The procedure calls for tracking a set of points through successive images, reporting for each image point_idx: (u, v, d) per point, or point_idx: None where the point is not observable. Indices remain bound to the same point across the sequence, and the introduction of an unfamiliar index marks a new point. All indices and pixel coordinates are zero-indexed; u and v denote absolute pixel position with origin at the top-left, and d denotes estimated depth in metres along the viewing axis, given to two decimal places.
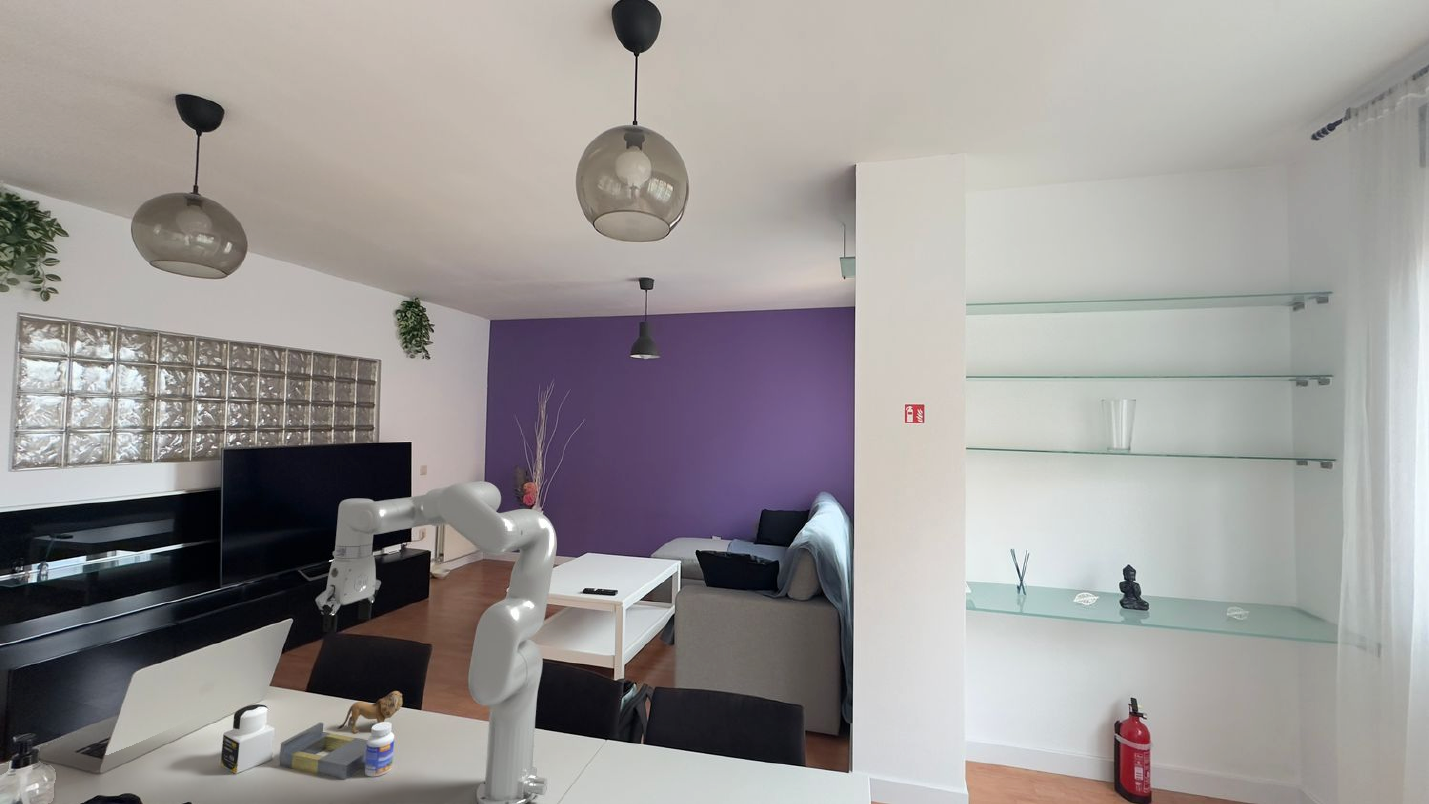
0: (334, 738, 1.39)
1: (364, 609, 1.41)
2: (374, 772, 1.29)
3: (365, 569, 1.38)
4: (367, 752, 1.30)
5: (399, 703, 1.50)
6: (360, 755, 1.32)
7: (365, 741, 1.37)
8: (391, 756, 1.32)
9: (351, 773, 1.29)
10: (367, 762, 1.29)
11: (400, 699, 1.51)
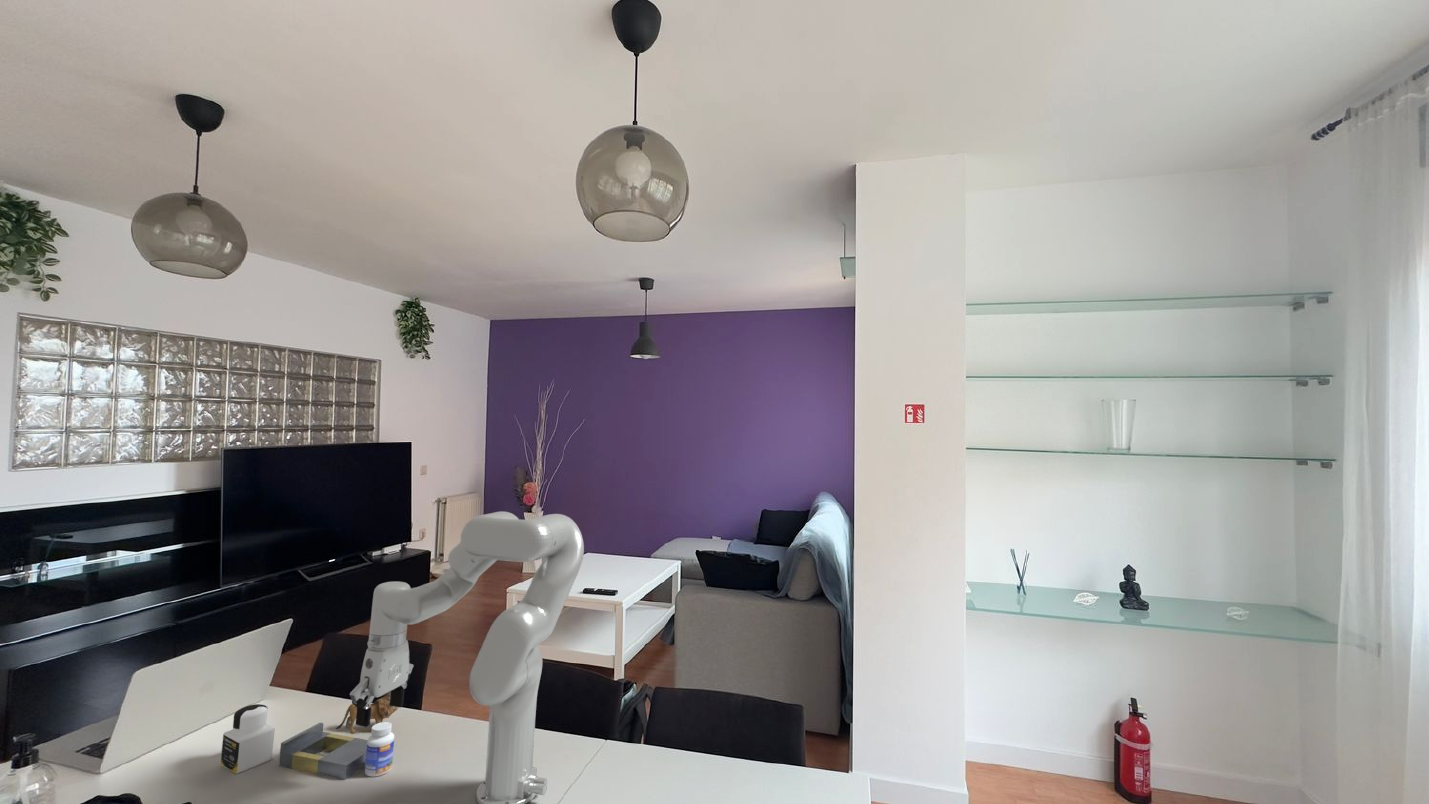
0: (334, 738, 1.39)
1: (396, 696, 1.37)
2: (374, 772, 1.29)
3: (399, 657, 1.33)
4: (367, 752, 1.30)
5: None
6: (360, 755, 1.32)
7: (365, 741, 1.37)
8: (391, 756, 1.32)
9: (351, 773, 1.29)
10: (367, 762, 1.29)
11: None
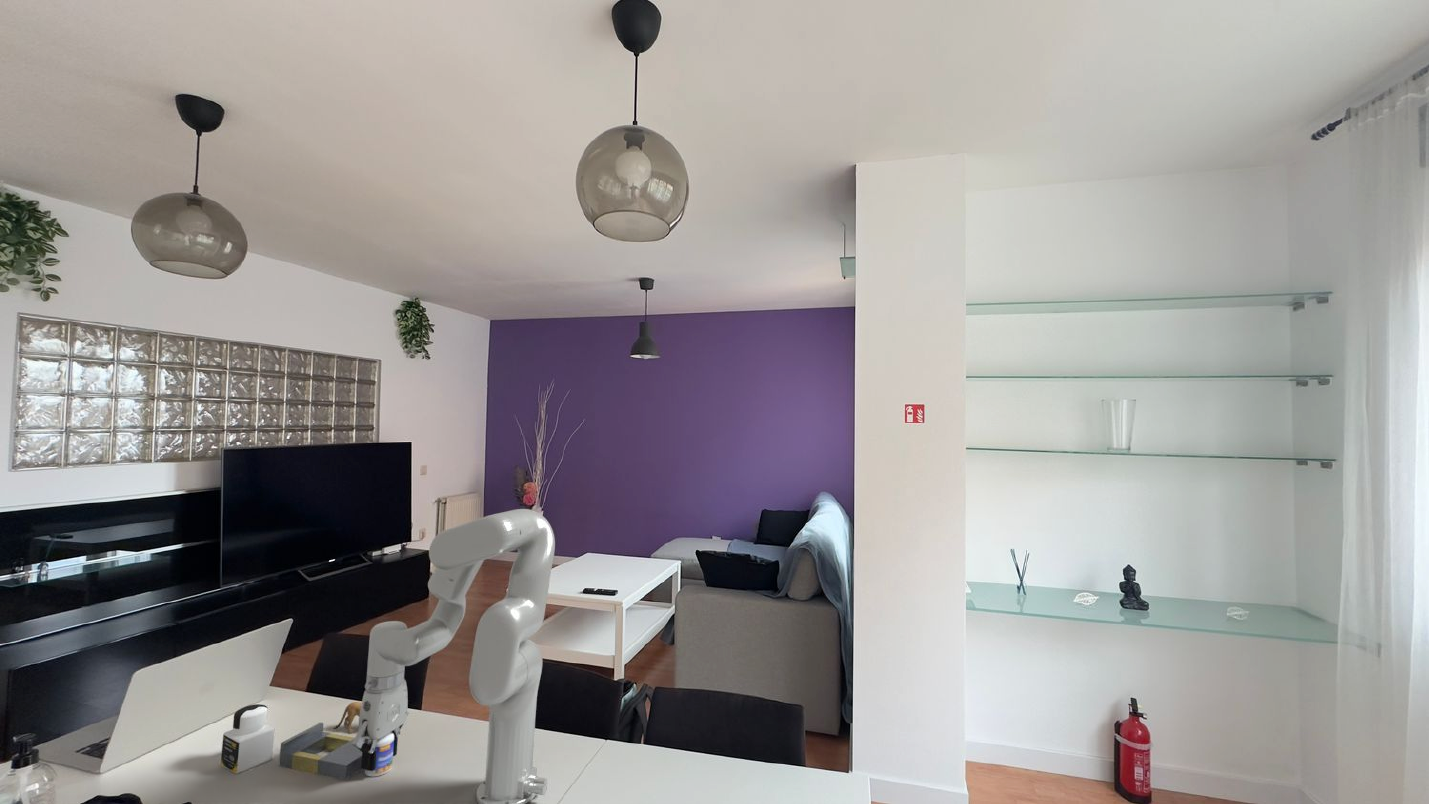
0: (334, 738, 1.39)
1: None
2: (374, 772, 1.29)
3: (397, 697, 1.33)
4: None
5: None
6: (360, 755, 1.32)
7: None
8: (391, 756, 1.32)
9: (351, 773, 1.29)
10: None
11: None
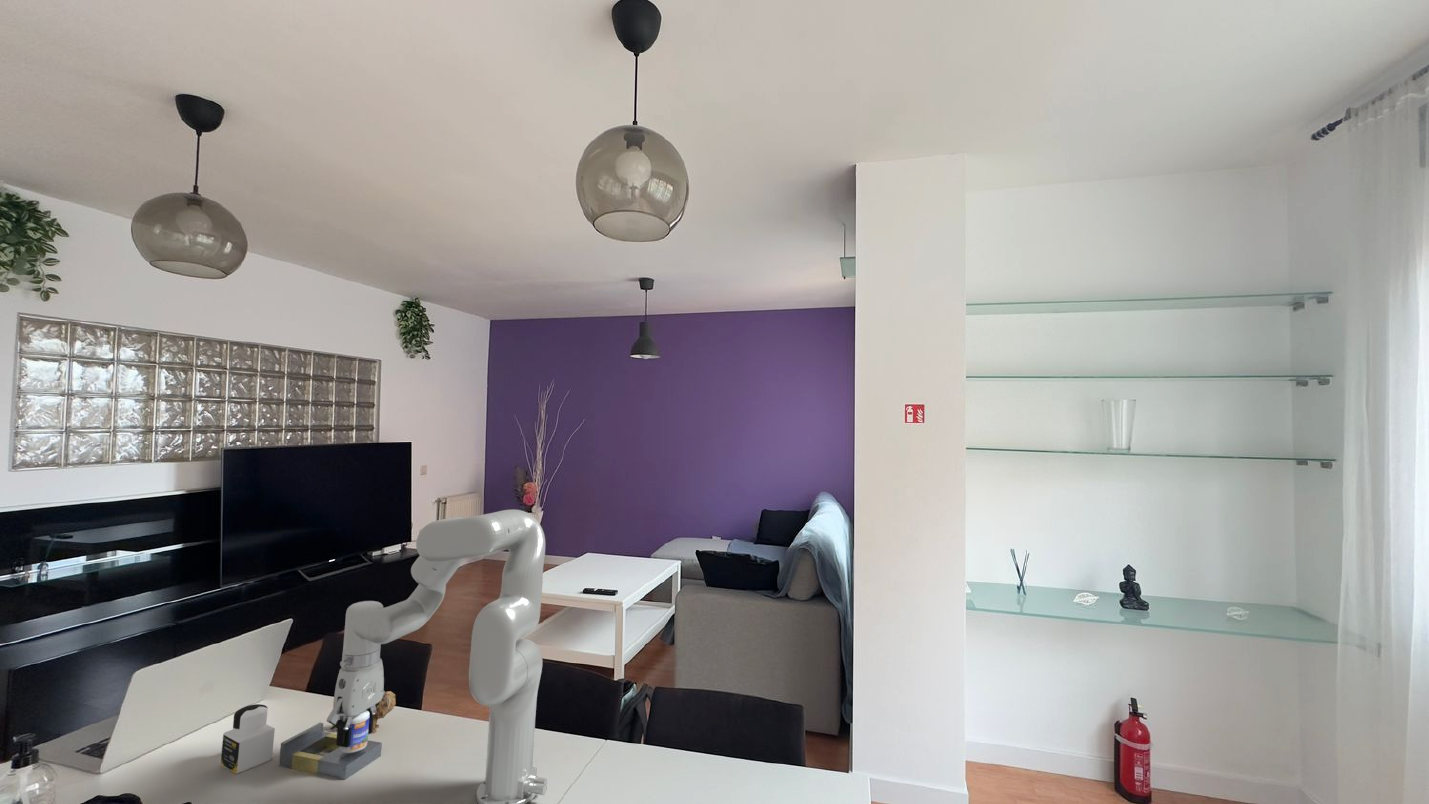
0: (334, 738, 1.39)
1: None
2: (348, 748, 1.31)
3: (373, 676, 1.35)
4: None
5: (392, 703, 1.50)
6: (360, 755, 1.32)
7: None
8: (366, 733, 1.33)
9: (351, 773, 1.29)
10: None
11: (393, 699, 1.50)
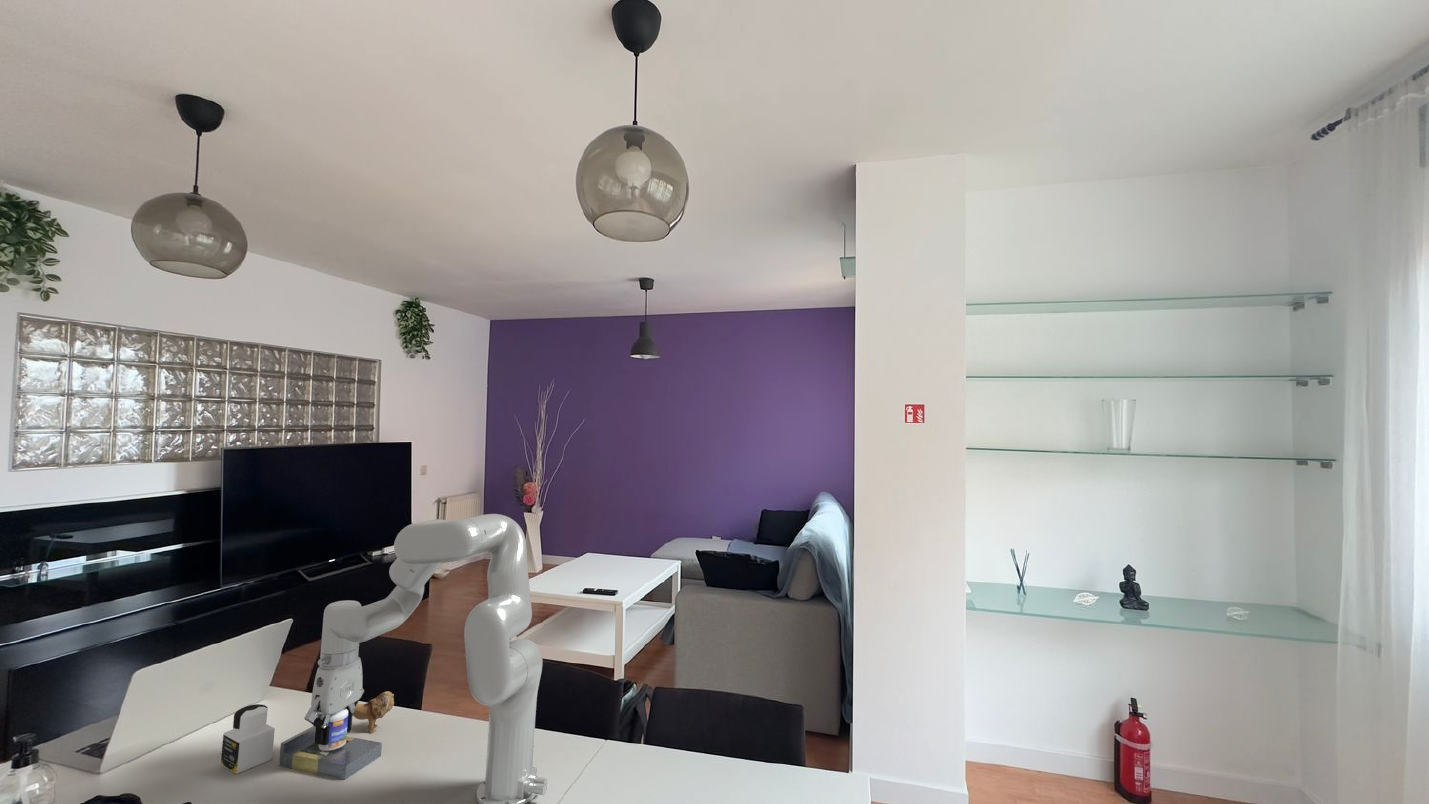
0: None
1: None
2: (327, 746, 1.32)
3: (351, 674, 1.36)
4: None
5: (391, 703, 1.50)
6: (360, 755, 1.32)
7: (365, 741, 1.37)
8: (345, 731, 1.35)
9: (351, 773, 1.29)
10: None
11: (392, 699, 1.50)
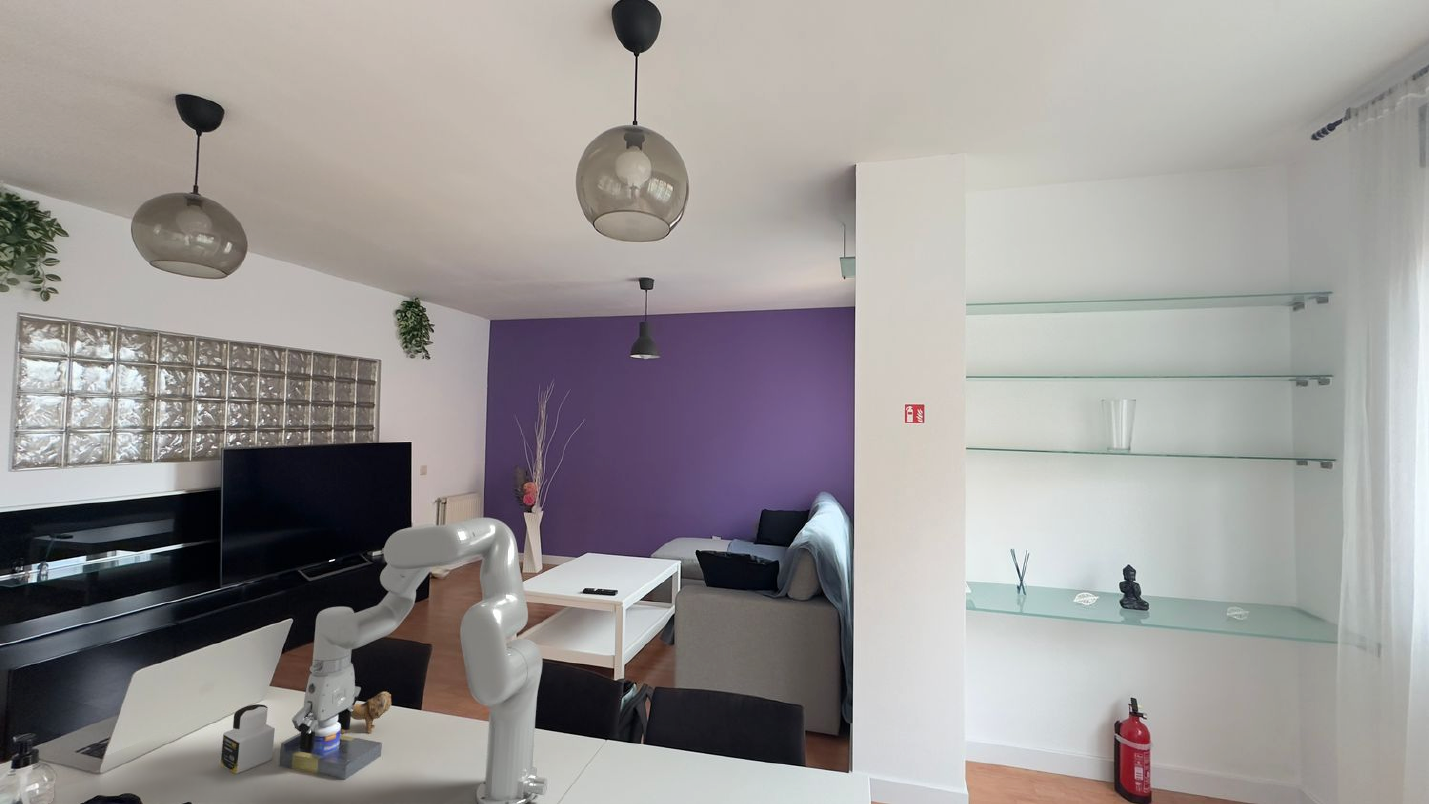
0: None
1: (343, 719, 1.39)
2: None
3: (343, 680, 1.36)
4: None
5: (388, 703, 1.50)
6: (360, 755, 1.32)
7: (365, 741, 1.37)
8: (337, 745, 1.35)
9: (351, 773, 1.29)
10: (313, 751, 1.33)
11: (389, 699, 1.50)
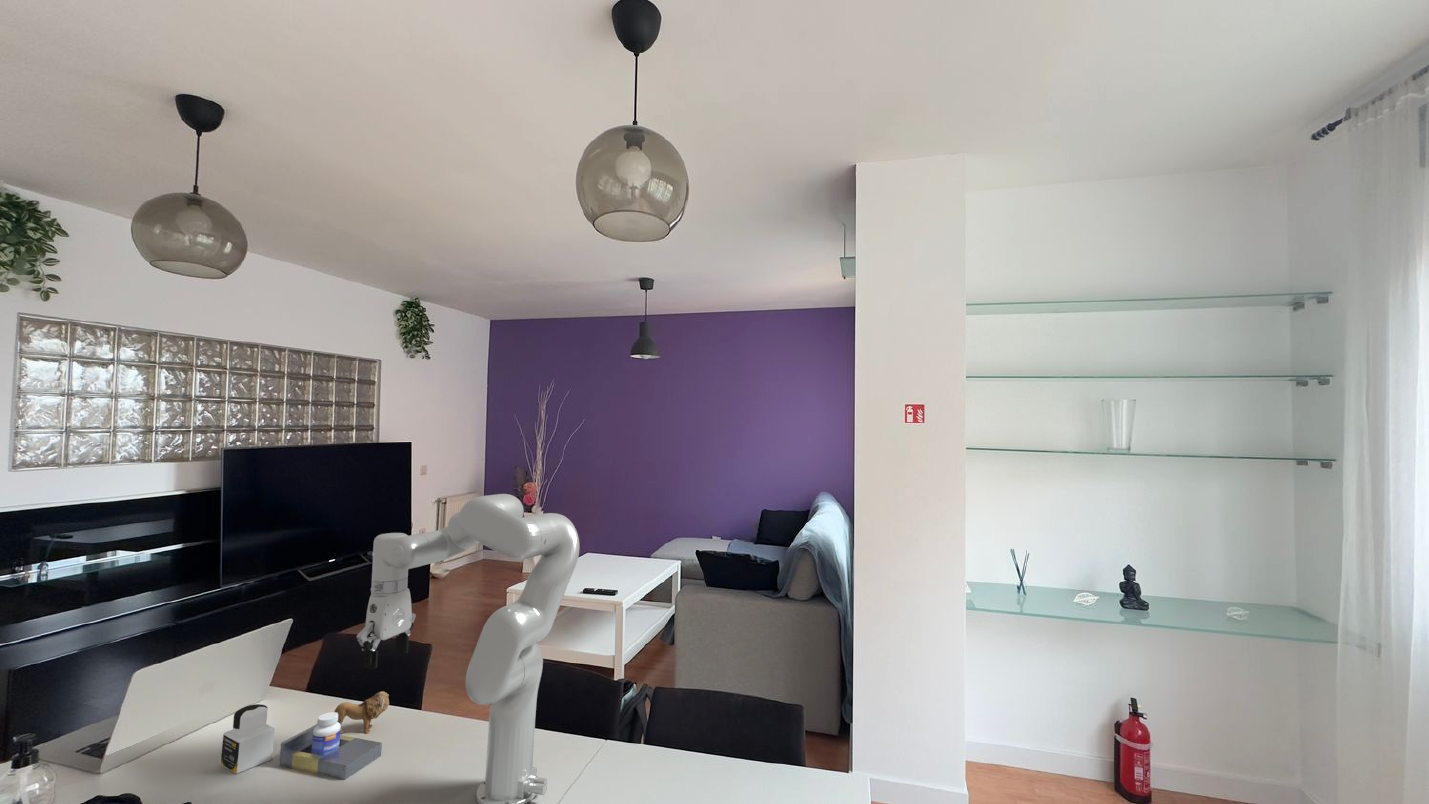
0: None
1: (401, 643, 1.42)
2: None
3: (402, 603, 1.39)
4: (313, 741, 1.33)
5: (386, 703, 1.50)
6: (360, 755, 1.32)
7: (365, 741, 1.37)
8: (337, 745, 1.35)
9: (351, 773, 1.29)
10: (313, 751, 1.33)
11: (387, 699, 1.50)
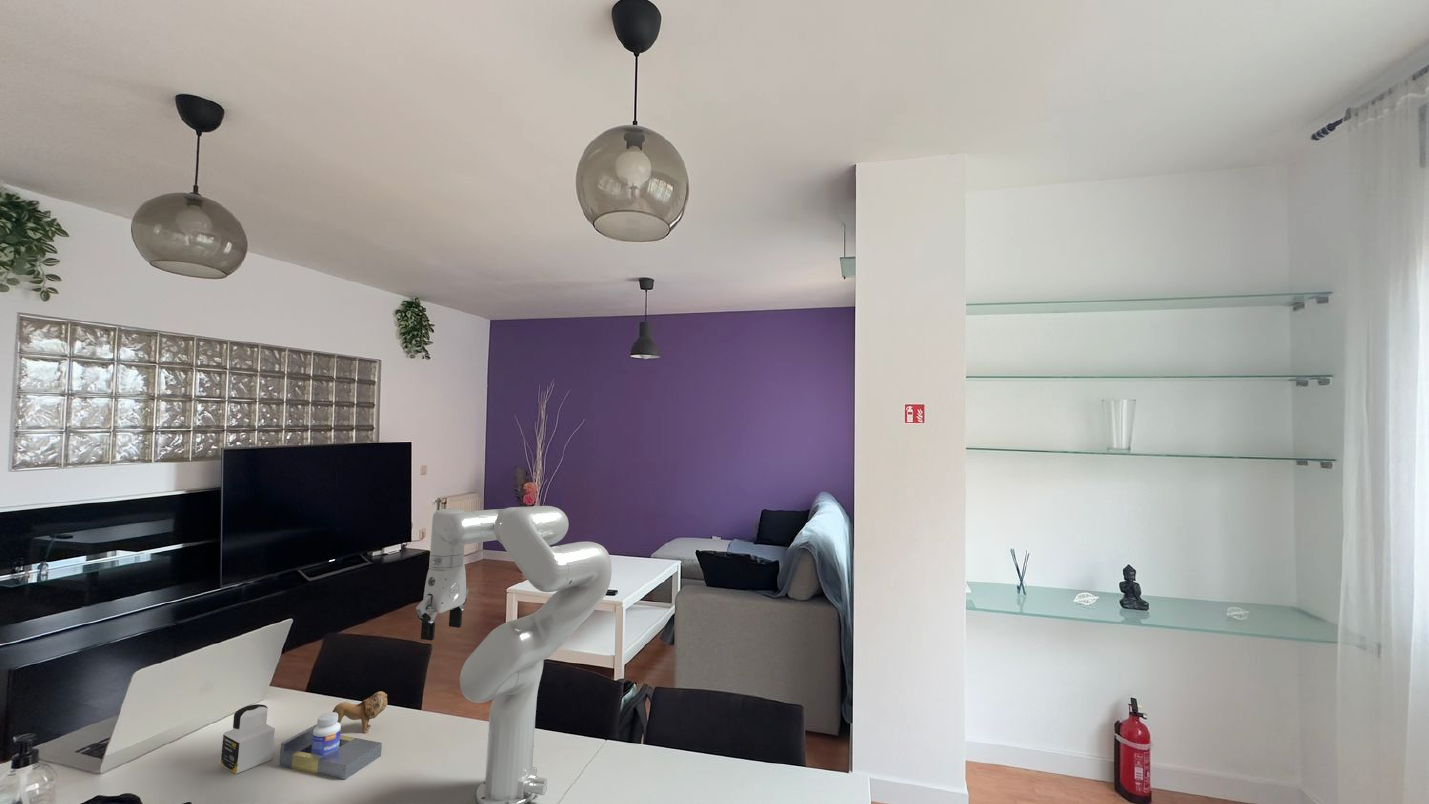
0: None
1: (455, 617, 1.45)
2: None
3: (458, 578, 1.41)
4: (313, 741, 1.33)
5: (384, 703, 1.50)
6: (360, 755, 1.32)
7: (365, 741, 1.37)
8: (337, 745, 1.35)
9: (351, 773, 1.29)
10: (313, 751, 1.33)
11: (385, 699, 1.50)
